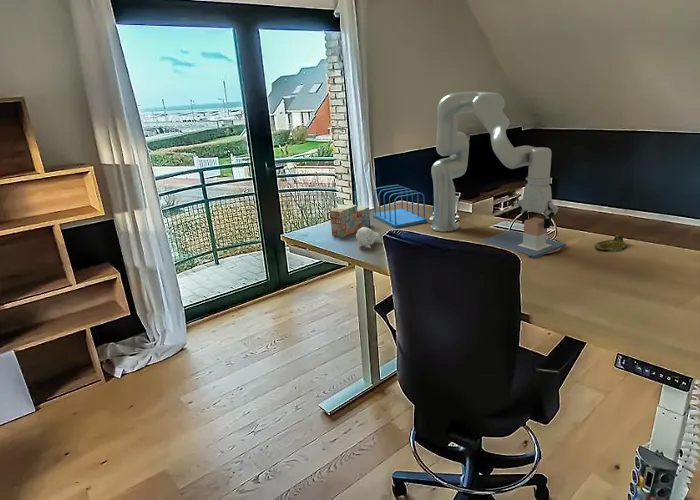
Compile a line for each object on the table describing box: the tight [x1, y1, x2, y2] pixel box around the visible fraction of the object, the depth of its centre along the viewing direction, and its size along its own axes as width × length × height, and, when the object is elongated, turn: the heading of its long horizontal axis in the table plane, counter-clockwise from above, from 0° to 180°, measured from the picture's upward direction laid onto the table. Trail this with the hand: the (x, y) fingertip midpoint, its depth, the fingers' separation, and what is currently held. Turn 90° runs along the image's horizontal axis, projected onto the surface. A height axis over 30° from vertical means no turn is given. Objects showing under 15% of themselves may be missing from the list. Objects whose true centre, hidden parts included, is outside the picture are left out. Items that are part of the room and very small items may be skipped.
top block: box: [523, 217, 548, 236], centre depth 182 cm, size 6×6×5 cm
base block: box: [522, 232, 548, 249], centre depth 183 cm, size 6×6×5 cm
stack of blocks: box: [329, 203, 371, 238], centre depth 222 cm, size 21×6×12 cm, turn 140°
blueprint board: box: [478, 229, 567, 259], centre depth 189 cm, size 26×20×1 cm
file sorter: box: [372, 184, 428, 229], centre depth 233 cm, size 25×17×15 cm
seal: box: [594, 233, 627, 253], centre depth 179 cm, size 9×5×15 cm
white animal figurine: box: [355, 227, 381, 249], centre depth 200 cm, size 6×8×12 cm
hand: (535, 225), depth 182 cm, fingers open, 9 cm apart
